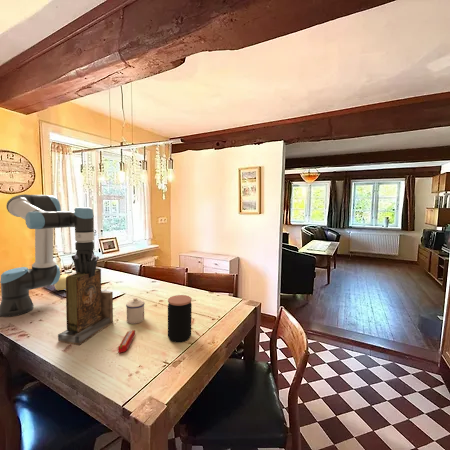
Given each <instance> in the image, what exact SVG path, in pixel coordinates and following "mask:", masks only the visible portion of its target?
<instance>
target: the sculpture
mask: <svg viewBox="0 0 450 450" xmlns="http://www.w3.org/2000/svg"><path fill="white" fill-rule="evenodd" d="M70 275H71V274H69V273H68V274H67V273H62V274H60V278H59V281H58V282H57V283H56V284H54V288H55V290H57V291H59V290H64V289H66V277H67V276H70Z"/></svg>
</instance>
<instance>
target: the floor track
mask: <svg viewBox="0 0 450 450" xmlns="http://www.w3.org/2000/svg"><path fill="white" fill-rule="evenodd" d="M113 294H114V293H113V291H108V290H101V320H99V321H97V322H96V323H94V324H93V325H91V326H89V327H88V328H86V329H85V330H83V331H81V332H79V333H77V332H76V331H67V329H66V330H64V331H62V332H61V333H58V334H57V342H58V343H65V344H68V345H69V344H70V345H75V344H76V345H77V346H81V345H83V344H84V343H85V342H87V341H88V340H90V339H91V338H93V337H94V336H96V334H98V333H100V332H101V331H103V330H104V329H106V328H107V327H108V326H110V325H111V324H112V323H114V308H113V307H114V306H113V305H114V304H113V303H114V301H113V300H114V299H113V298H114V297H113ZM89 338H90V339H89Z"/></svg>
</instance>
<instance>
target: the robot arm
mask: <svg viewBox="0 0 450 450" xmlns="http://www.w3.org/2000/svg"><path fill="white" fill-rule="evenodd" d="M61 207H62V206H61V204H60V200H59V199H58V198H57V196H55V195H49V194H26V193H25V194H17V195H14V196H12V197H11V198H9V200H8V201H7V202H6V208H5V209H6V210H7V212H8V213H9V214H10V215H12V216H14V217H17V218H21V219H24V220H25V225H26V227H27V228H28V229H30V230H34V252H35V253H34V258H35V259H34V262H33V263H32V264H31V268H28V267H26V266H21V267H15V268H12V269H8V270H5V271H3V272H2V273H1V274H0V289H1V291H0V292H1V301H0V317H5V318H6V317H15V316H20V315H23V314H27V313H30V312H31V311H33V310H34V303H33V300H32V298H31V296H30V290H36V289H41V288H45V287H50V286H53V285H54V284H56V283H57V282H58V281H59V278H60V275H61V270H60V269H61V268H60V266H59V265H58V264H57V263H56V262H55V261H54V229H59V228H61V229H62V228H74V235H75V236H74V239H75V243H74V245H75V251H76V252H75V254H74V255H71V260H72V261H73V265H74V270H75V274H76V273H79V272H80V274H83V273H85V274H88V273H89V277H93V276H94V275H95V270H96V268H97V264H98V261H99V259H100V257H99V255H97V256H96V255H95V252H94V249H95V241H94V240H95V233H94V232H95V231H94V230H95V229H94V225H95V224H94V223H95V221H94V218H95V217H94V210H93V208H92V207H75V208H74V210H68V211H67V210H66V211H65V210H64V211H62V209H61Z"/></svg>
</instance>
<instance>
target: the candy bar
mask: <svg viewBox="0 0 450 450" xmlns="http://www.w3.org/2000/svg"><path fill="white" fill-rule="evenodd" d="M135 336H136V330H135V329H134V330H133V329H132V330H129V331H127V332H126V333H125V335H124V337H123V339H122V340H121V343H120V344H119V345H118V348H117V350H118V352H117V353H119V354H120V353H123V352H127V351H128V349H129V347H130V345H131V344H132V342H133V341H134V340H133V339H134V338H135Z"/></svg>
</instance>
